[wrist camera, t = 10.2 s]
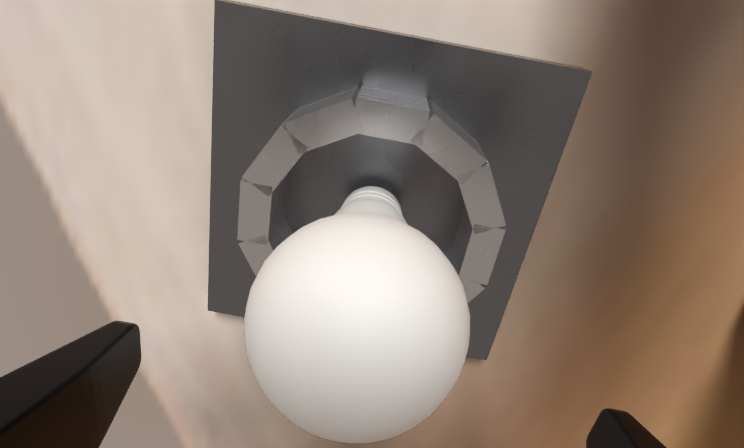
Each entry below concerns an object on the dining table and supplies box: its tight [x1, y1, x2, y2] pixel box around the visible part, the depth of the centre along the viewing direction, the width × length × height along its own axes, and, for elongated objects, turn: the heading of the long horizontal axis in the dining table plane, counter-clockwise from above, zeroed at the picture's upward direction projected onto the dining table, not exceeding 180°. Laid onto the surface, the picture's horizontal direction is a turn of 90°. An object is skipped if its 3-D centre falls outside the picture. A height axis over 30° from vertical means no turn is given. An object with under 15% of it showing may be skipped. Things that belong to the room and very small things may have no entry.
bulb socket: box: [208, 0, 592, 360], centre depth 20 cm, size 14×14×4 cm
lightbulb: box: [244, 186, 470, 443], centre depth 15 cm, size 6×6×11 cm
